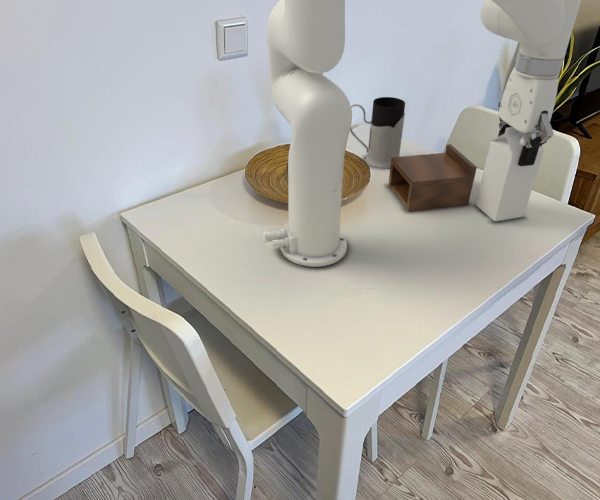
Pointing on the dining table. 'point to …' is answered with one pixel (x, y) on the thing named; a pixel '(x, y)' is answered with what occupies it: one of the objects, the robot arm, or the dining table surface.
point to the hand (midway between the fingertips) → (514, 155)
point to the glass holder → (384, 131)
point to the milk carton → (507, 177)
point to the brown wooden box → (432, 179)
